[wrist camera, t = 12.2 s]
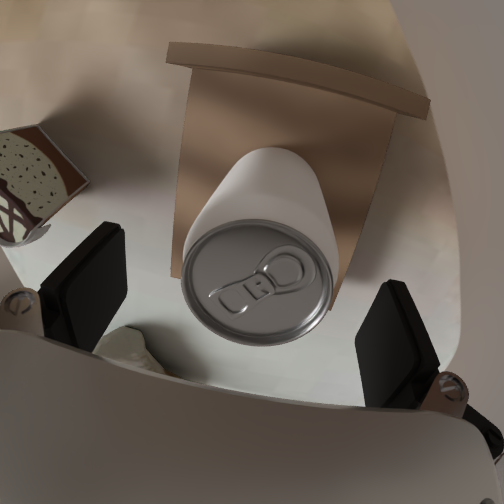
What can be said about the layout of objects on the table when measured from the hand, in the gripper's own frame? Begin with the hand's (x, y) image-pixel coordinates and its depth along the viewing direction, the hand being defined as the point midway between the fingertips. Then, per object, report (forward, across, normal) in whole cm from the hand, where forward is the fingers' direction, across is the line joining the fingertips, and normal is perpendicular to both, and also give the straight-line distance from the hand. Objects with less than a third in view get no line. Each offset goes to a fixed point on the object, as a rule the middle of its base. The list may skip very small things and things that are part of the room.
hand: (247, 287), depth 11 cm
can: (+13, 0, +1) cm, 13 cm away
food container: (+17, +22, +4) cm, 28 cm away
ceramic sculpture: (+16, +11, +27) cm, 34 cm away
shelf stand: (+16, -1, +1) cm, 16 cm away
